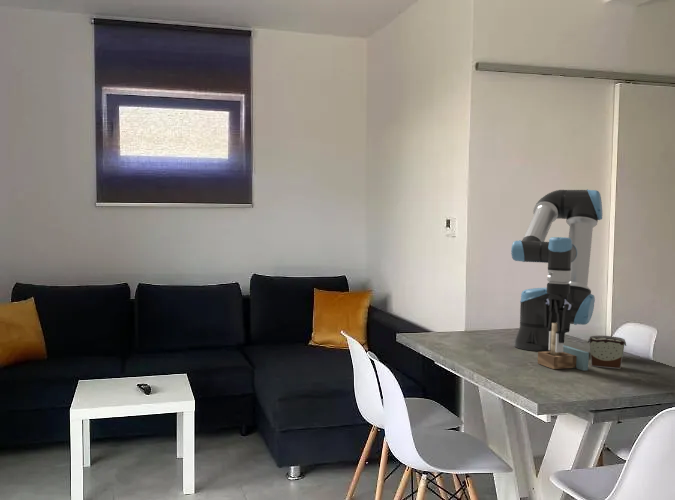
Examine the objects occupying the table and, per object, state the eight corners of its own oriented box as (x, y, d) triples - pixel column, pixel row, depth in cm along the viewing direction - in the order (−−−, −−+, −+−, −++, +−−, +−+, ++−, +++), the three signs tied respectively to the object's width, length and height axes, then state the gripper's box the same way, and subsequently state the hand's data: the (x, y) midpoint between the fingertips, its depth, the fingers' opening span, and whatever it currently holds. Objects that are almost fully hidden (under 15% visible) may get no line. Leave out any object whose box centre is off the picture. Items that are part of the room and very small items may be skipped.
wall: (558, 360, 244) (558, 343, 244) (588, 370, 229) (588, 352, 229) (553, 360, 243) (553, 343, 243) (583, 370, 228) (583, 352, 228)
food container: (624, 365, 238) (625, 336, 237) (625, 369, 232) (626, 339, 231) (586, 362, 242) (587, 334, 241) (586, 365, 236) (587, 337, 235)
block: (559, 361, 240) (559, 350, 240) (576, 367, 232) (576, 355, 231) (537, 363, 237) (537, 351, 237) (553, 369, 229) (554, 357, 228)
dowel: (556, 362, 236) (557, 322, 235) (562, 364, 233) (563, 323, 232) (548, 363, 235) (549, 322, 234) (554, 365, 232) (555, 324, 231)
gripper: (535, 280, 239) (532, 347, 240) (564, 285, 224) (561, 356, 225) (553, 280, 241) (550, 346, 243) (583, 284, 226) (580, 355, 227)
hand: (555, 350), depth 234 cm, fingers closed on dowel, 3 cm apart
